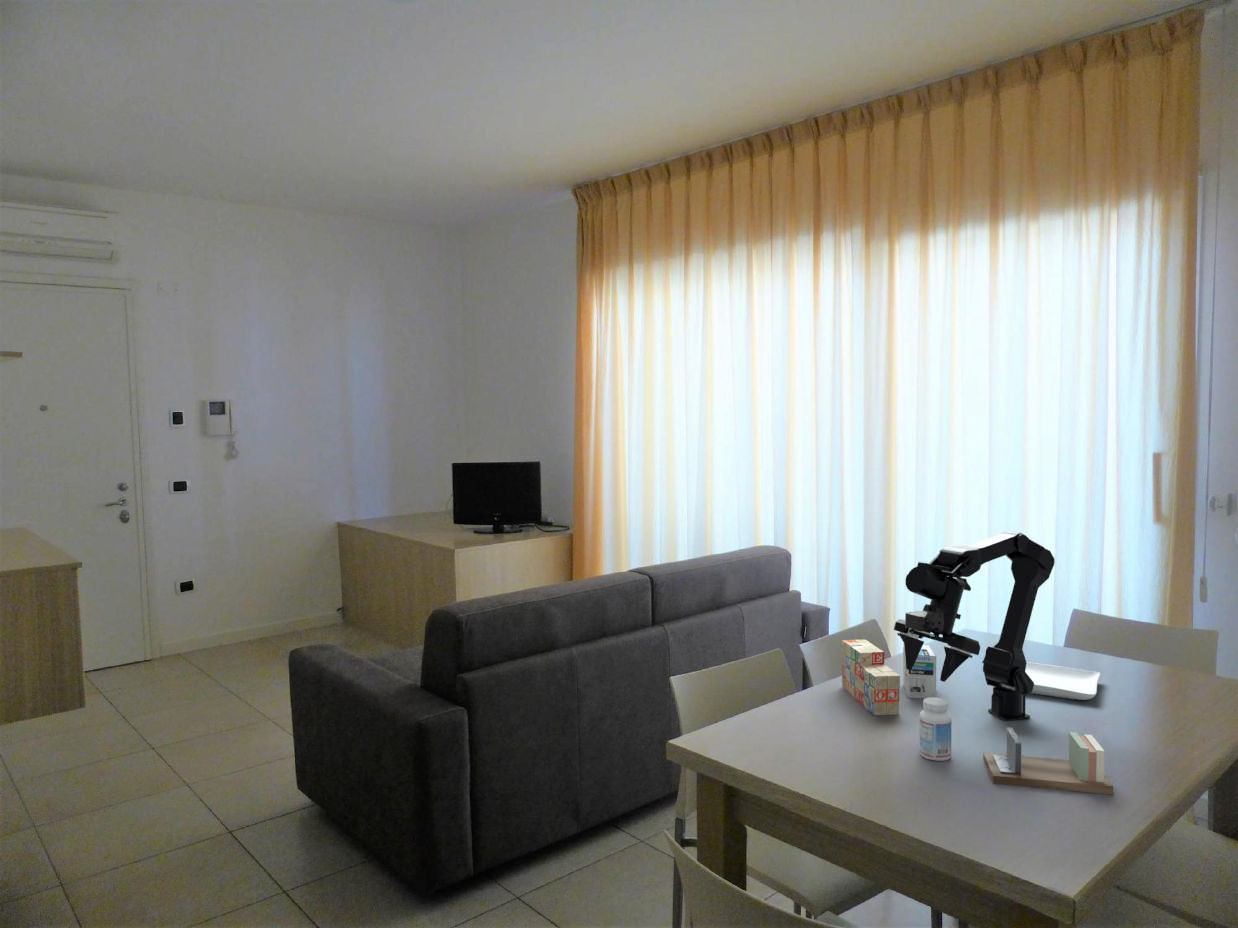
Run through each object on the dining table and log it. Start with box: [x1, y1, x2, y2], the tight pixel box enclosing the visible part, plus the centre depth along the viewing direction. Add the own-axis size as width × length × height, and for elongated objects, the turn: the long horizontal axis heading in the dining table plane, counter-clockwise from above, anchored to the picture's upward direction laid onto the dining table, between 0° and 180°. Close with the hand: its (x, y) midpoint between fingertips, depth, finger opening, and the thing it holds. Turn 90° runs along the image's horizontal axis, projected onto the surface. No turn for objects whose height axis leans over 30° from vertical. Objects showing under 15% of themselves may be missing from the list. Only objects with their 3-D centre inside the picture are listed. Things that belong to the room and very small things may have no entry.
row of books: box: [1068, 731, 1106, 782], centre depth 157 cm, size 8×4×6 cm, turn 166°
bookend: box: [993, 727, 1022, 775], centre depth 160 cm, size 8×4×6 cm, turn 166°
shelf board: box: [982, 752, 1114, 795], centre depth 159 cm, size 11×20×2 cm, turn 76°
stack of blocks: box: [841, 639, 901, 716], centre depth 203 cm, size 21×6×12 cm, turn 5°
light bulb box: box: [902, 643, 937, 699], centre depth 209 cm, size 11×7×11 cm, turn 168°
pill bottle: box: [919, 697, 952, 762], centre depth 169 cm, size 6×6×11 cm
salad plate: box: [1025, 661, 1101, 701], centre depth 212 cm, size 21×21×3 cm
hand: (925, 675), depth 179 cm, fingers open, 9 cm apart
